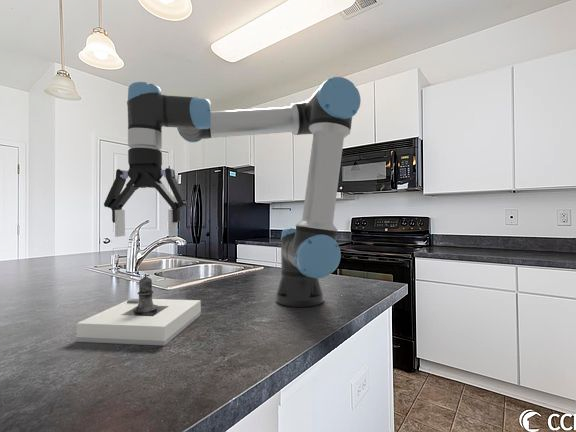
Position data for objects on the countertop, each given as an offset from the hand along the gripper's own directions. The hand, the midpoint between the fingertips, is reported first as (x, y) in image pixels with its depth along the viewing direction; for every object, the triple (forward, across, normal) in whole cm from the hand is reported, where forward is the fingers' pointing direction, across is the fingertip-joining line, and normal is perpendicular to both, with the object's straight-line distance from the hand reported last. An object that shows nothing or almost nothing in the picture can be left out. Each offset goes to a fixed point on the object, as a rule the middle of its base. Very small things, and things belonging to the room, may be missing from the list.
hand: (146, 236), depth 76 cm
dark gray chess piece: (+21, 0, 0) cm, 21 cm away
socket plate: (+22, 0, 0) cm, 22 cm away
